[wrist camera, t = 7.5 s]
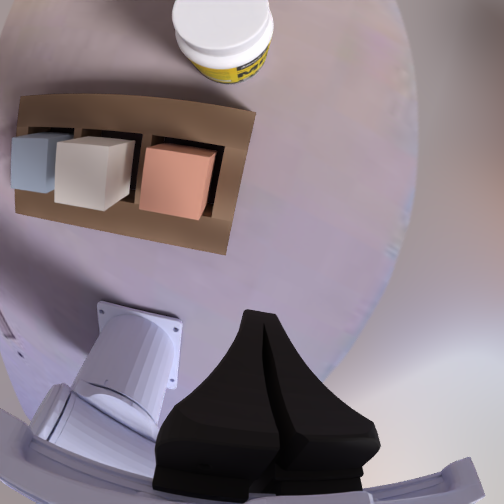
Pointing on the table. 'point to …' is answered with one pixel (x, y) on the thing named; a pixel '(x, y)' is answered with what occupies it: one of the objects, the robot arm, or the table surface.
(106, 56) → the table surface
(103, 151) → the white key
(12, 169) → the blue key
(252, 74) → the supplement bottle
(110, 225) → the key block
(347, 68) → the table surface
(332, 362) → the table surface
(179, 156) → the red key
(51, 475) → the robot arm
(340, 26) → the table surface
